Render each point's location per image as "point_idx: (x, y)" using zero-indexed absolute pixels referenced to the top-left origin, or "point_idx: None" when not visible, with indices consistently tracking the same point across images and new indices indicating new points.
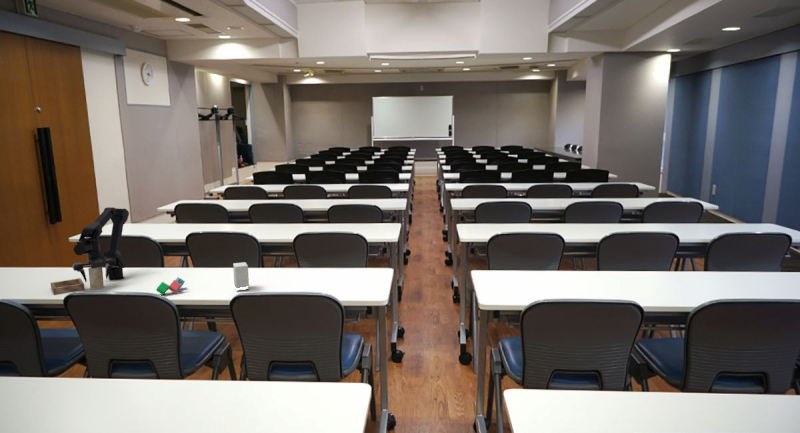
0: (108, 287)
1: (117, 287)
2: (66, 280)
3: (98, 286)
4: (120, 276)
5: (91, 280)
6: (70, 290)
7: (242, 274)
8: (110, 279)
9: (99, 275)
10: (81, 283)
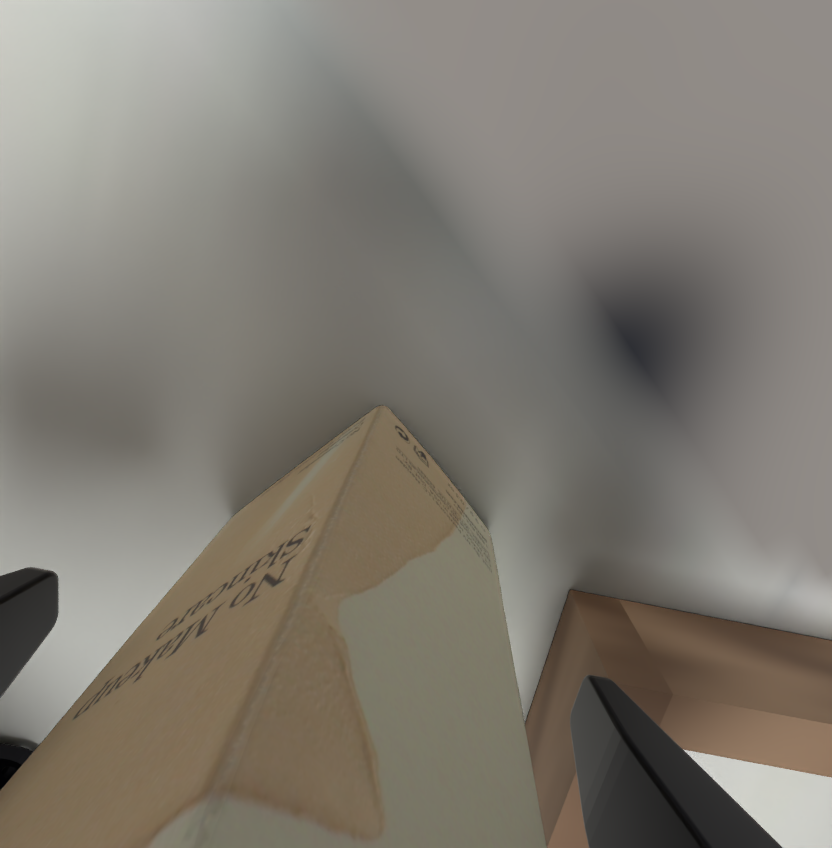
0: (181, 362)
1: (18, 188)
2: None
3: (360, 429)
4: None
5: (479, 630)
6: (823, 655)
7: None
8: None
9: (172, 659)
10: None
